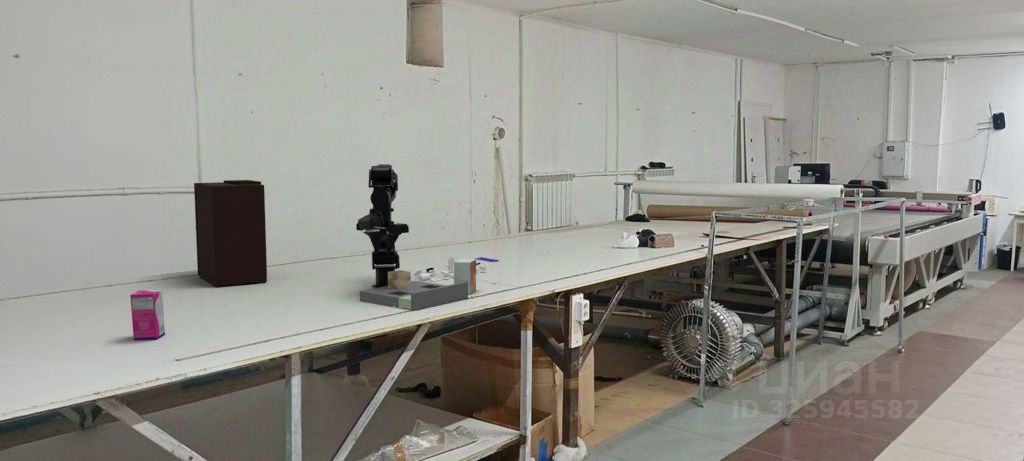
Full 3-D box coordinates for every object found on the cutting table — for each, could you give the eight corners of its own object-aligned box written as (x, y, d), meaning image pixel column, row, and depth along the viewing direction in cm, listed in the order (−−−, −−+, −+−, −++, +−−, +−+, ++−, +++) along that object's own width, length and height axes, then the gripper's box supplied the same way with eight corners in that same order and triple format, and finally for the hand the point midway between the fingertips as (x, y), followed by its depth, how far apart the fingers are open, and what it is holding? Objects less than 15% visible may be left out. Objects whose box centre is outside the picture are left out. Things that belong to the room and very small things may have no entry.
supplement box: (141, 334, 193) (139, 289, 192) (165, 334, 193) (163, 289, 192) (132, 340, 187) (129, 294, 186) (157, 339, 188) (155, 293, 186)
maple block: (388, 287, 242) (387, 272, 242) (399, 285, 246) (399, 270, 246) (399, 289, 239) (399, 273, 239) (410, 287, 243) (410, 271, 243)
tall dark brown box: (215, 287, 257) (211, 183, 254) (197, 276, 279) (193, 180, 275) (272, 282, 268) (269, 182, 264) (250, 272, 290) (247, 179, 286)
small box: (470, 294, 247) (470, 262, 246) (453, 294, 248) (453, 261, 247) (476, 290, 255) (476, 258, 254) (460, 289, 256) (460, 258, 255)
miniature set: (468, 266, 301) (492, 274, 294) (403, 284, 274) (427, 293, 267) (470, 250, 299) (493, 258, 292) (404, 266, 273) (428, 275, 265)
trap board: (359, 300, 236) (359, 284, 236) (415, 289, 255) (414, 274, 255) (413, 310, 222) (413, 293, 222) (468, 297, 241) (468, 282, 241)
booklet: (433, 264, 314) (433, 262, 314) (481, 258, 330) (481, 257, 330) (451, 267, 305) (451, 266, 305) (499, 262, 321) (499, 260, 321)
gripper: (342, 205, 244) (343, 254, 245) (383, 208, 232) (384, 259, 234) (369, 203, 252) (369, 250, 254) (409, 206, 241) (410, 255, 243)
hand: (382, 254), depth 246 cm, fingers open, 5 cm apart
